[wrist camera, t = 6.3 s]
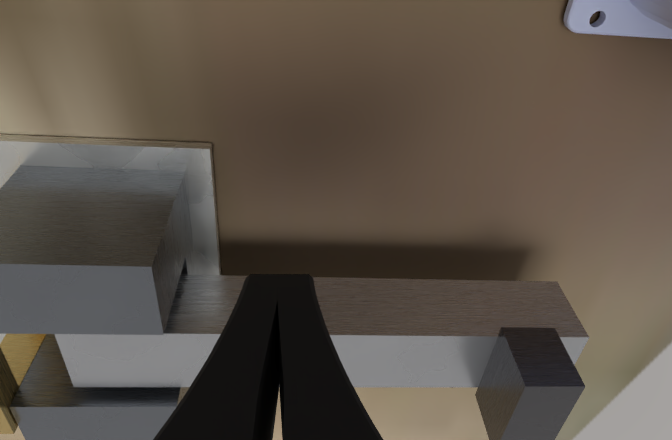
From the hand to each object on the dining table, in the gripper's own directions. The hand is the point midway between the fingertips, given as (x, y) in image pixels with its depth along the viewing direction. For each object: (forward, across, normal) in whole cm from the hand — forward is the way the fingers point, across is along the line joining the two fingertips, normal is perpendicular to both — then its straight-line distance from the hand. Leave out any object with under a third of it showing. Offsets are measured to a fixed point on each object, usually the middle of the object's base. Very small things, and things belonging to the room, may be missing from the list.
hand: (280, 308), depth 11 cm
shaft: (+7, -2, +7) cm, 11 cm away
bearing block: (+10, +10, +7) cm, 16 cm away
